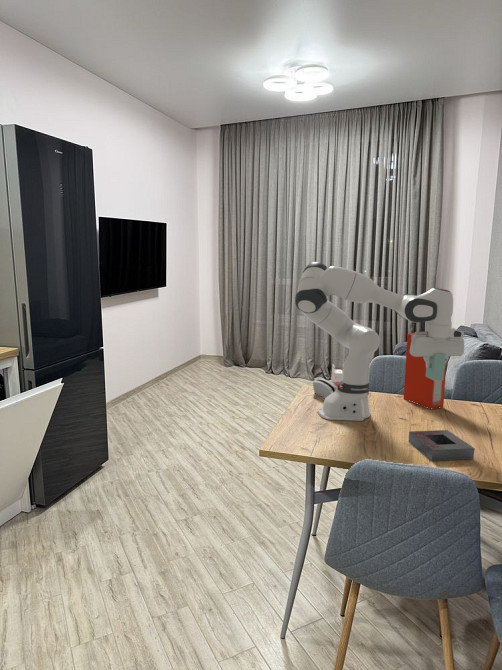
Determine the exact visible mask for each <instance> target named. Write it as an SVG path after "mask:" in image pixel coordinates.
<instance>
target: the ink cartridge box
mask: <svg viewBox="0 0 502 670" xmlns="http://www.w3.org/2000/svg"><path fill="white" fill-rule="evenodd" d="M342 373H343V369H336V367H335V364H334V363H332V365H331V379H330V382H331V383H332V384H333V385H335V384H334V382H335V381H338V382H339V383H340V382H341V381H342ZM335 386H336V385H335ZM336 388H337V386H336Z"/></svg>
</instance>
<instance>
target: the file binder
mask: <svg viewBox="0 0 502 670" xmlns="http://www.w3.org/2000/svg"><path fill="white" fill-rule="evenodd" d="M413 334H414V333H407V334H406V335H407V336H406V337H407V338H406V353H405V355H406V356H405V368H404V382H403V383H404V384H403V385H404V386H403V388H404V389H403V399H404V400H405V399H407V400H410V401H413V402H415V403H418V404H420V405H423V406H425V407H428V408H430V409H431V408H437V409H440V408H439V407H442V408H444V403H445V401H444V400H445V389H446V378H447V377H446V375H447V364H448V361H447V362H446V363H445V369H444V380H432V379H430V378H428V377H426V362H425V360H424V358H423V357H415V356H412V355H411V354H410V346H411V336H412V335H413ZM414 335H416V334H414ZM419 335H421V334H419ZM407 400H406V401H407ZM410 401H409V402H410ZM413 402H412V403H413ZM415 403H414V404H415ZM418 404H417V405H418ZM420 405H419V406H420ZM423 406H422V407H423ZM425 407H424V408H425ZM428 408H427V409H428ZM430 409H429V410H430ZM431 410H432V409H431Z"/></svg>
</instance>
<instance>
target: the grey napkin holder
mask: <svg viewBox="0 0 502 670" xmlns="http://www.w3.org/2000/svg"><path fill="white" fill-rule="evenodd" d="M312 386H313V392H314V394H315V393H316V394H315V395H317V394H318V395H317V396H319V395H320V396H319V397H321V396H322V397H321V398H323V397H324V398H323V399H325V398H326V397H327V396H329V395H330V394H332V393H333V392H335V391H336V390H337V388H336V386H335V385H333V384H332V383H331V381H329V380H327V379H324V378H318V379H316V380H314V381H313V382H312Z"/></svg>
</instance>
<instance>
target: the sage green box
mask: <svg viewBox="0 0 502 670" xmlns="http://www.w3.org/2000/svg"><path fill="white" fill-rule="evenodd" d="M445 357H446V354H444V353H439V354H434V356H430V359H428V360H429V363H432V367H431V368H426V377H428V378H430V379H432V380H444V369H445Z"/></svg>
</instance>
